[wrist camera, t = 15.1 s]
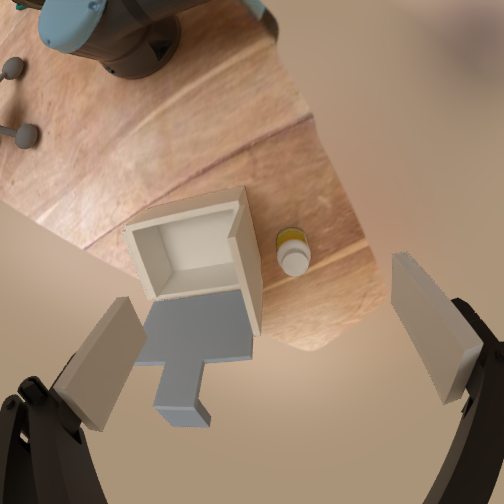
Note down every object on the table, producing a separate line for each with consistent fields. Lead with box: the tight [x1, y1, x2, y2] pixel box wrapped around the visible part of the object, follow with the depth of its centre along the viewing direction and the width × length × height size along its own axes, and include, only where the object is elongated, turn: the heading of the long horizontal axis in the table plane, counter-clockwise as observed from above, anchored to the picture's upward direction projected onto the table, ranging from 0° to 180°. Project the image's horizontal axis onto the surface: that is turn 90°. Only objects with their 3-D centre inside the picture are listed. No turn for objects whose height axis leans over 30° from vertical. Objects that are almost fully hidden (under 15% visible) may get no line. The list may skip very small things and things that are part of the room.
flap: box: [134, 290, 253, 427], centre depth 37 cm, size 20×17×5 cm
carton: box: [122, 186, 263, 337], centre depth 42 cm, size 14×20×22 cm
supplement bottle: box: [276, 226, 311, 277], centre depth 47 cm, size 5×5×10 cm
